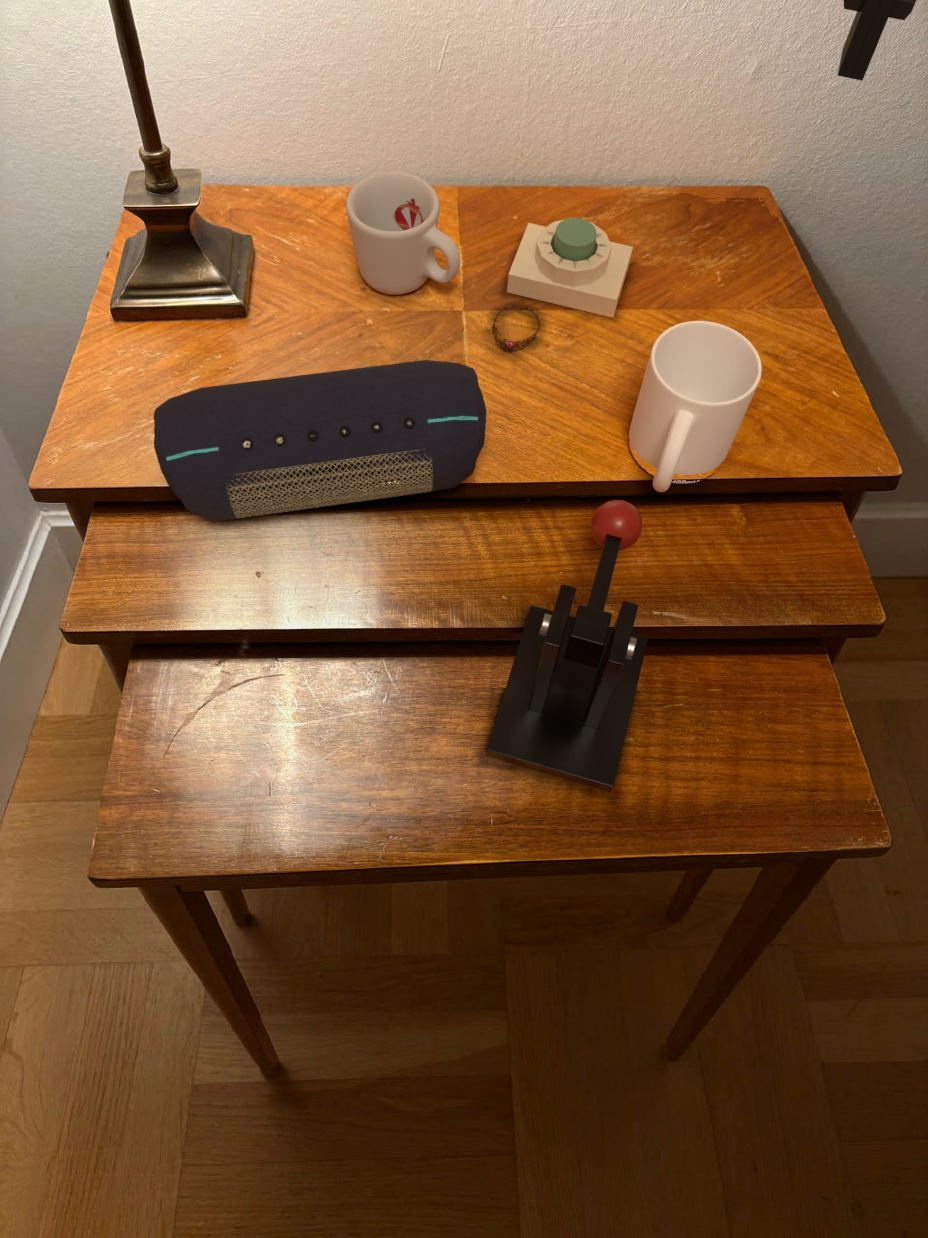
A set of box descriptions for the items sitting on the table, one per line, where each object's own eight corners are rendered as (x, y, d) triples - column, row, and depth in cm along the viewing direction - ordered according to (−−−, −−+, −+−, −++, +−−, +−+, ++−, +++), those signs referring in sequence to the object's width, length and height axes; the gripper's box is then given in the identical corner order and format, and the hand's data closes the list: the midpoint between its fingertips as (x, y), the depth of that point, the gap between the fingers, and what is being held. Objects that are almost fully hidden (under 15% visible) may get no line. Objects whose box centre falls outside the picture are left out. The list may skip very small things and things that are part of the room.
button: (597, 238, 88) (600, 222, 86) (588, 265, 86) (591, 250, 85) (559, 229, 88) (561, 213, 87) (549, 256, 87) (551, 240, 85)
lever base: (529, 612, 74) (545, 526, 64) (645, 644, 73) (681, 562, 63) (485, 756, 69) (495, 688, 58) (610, 792, 68) (643, 730, 57)
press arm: (591, 521, 72) (601, 484, 69) (639, 534, 72) (651, 497, 69) (551, 662, 63) (560, 626, 60) (605, 678, 62) (618, 641, 60)
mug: (696, 537, 78) (731, 457, 69) (598, 501, 79) (620, 419, 70) (736, 427, 83) (774, 340, 74) (644, 396, 84) (670, 306, 75)
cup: (480, 280, 90) (485, 208, 83) (431, 333, 87) (431, 262, 80) (386, 232, 93) (382, 157, 86) (334, 281, 89) (326, 208, 82)
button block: (629, 265, 92) (637, 230, 88) (612, 318, 88) (620, 284, 85) (526, 241, 93) (530, 205, 89) (506, 292, 89) (509, 257, 86)
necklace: (484, 352, 86) (484, 343, 85) (500, 301, 89) (500, 293, 88) (530, 361, 85) (531, 353, 85) (544, 311, 88) (546, 302, 87)
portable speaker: (177, 552, 76) (144, 476, 67) (170, 450, 80) (138, 365, 71) (495, 508, 78) (503, 428, 70) (471, 411, 83) (476, 325, 74)
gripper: (1252, -531, 39) (965, 50, 60) (922, -576, 40) (754, 7, 61) (1269, -467, 35) (958, 126, 56) (908, -518, 37) (735, 79, 58)
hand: (852, 64), depth 59 cm, fingers closed
